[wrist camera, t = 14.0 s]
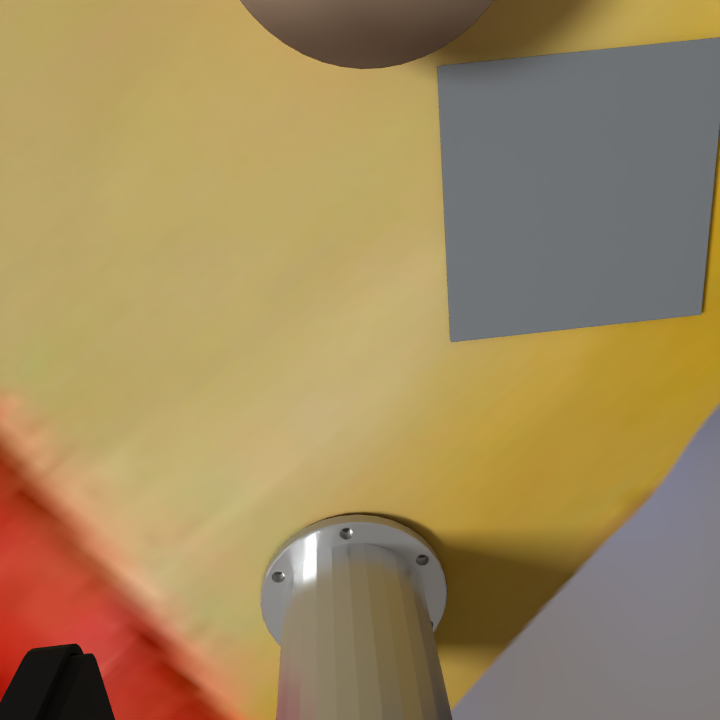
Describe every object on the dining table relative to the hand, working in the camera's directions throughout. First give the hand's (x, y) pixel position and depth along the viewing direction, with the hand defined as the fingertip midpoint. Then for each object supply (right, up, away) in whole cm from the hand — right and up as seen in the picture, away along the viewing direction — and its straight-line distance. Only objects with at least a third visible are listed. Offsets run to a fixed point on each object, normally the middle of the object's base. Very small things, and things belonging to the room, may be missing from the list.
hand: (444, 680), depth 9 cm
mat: (+11, +13, +28) cm, 33 cm away
